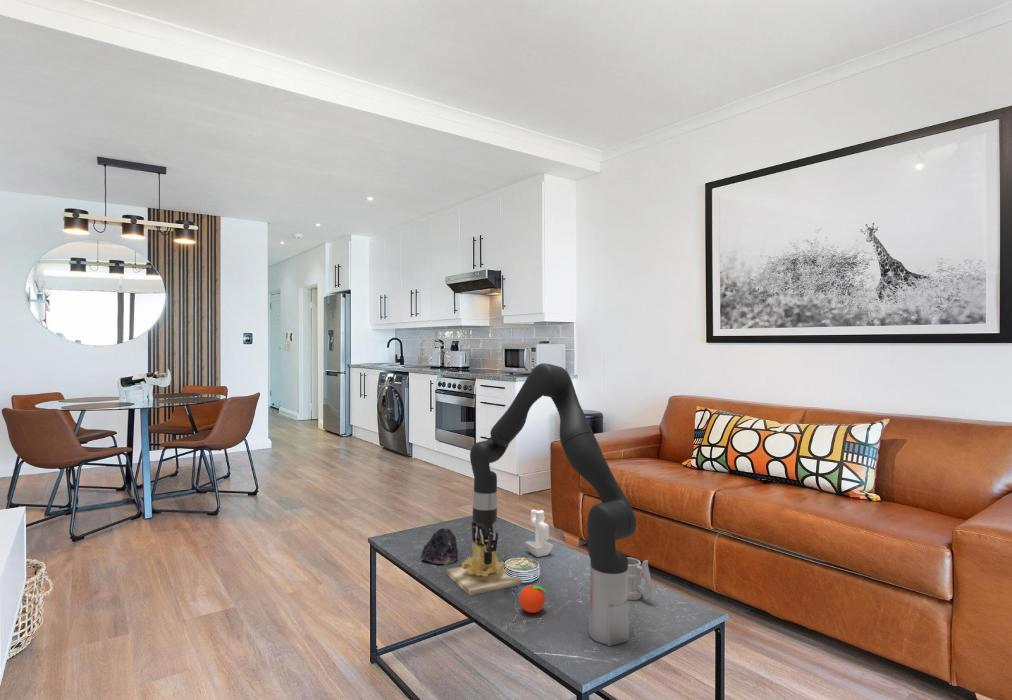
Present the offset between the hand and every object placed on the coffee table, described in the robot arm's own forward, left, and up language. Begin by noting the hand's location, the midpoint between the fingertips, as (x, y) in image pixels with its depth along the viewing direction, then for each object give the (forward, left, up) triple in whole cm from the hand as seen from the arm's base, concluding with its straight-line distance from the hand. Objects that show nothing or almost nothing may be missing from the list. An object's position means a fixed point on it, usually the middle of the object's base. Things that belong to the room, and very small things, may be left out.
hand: (483, 560), depth 175 cm
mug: (-30, -34, -6) cm, 46 cm away
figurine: (+11, -27, -6) cm, 30 cm away
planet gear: (0, 0, -2) cm, 2 cm away
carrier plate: (0, 0, -6) cm, 6 cm away
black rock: (+22, +5, -6) cm, 23 cm away
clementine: (-25, -3, -6) cm, 26 cm away
